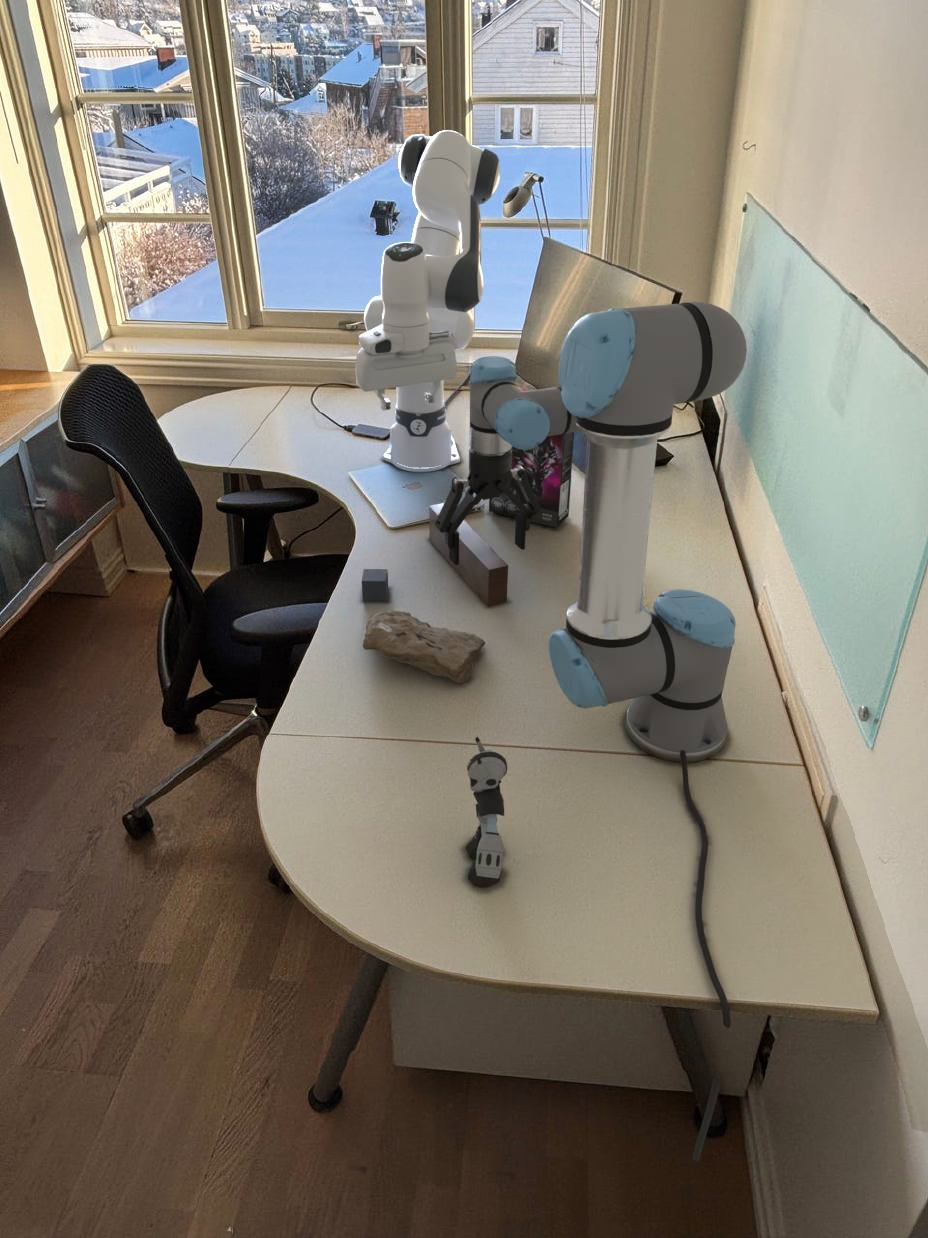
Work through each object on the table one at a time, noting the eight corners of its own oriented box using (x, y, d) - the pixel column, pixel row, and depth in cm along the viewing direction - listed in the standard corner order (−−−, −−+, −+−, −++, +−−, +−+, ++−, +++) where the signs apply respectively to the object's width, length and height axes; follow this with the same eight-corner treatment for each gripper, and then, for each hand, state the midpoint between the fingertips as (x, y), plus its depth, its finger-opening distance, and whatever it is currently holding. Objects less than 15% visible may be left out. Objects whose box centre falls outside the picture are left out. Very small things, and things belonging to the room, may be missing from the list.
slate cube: (386, 601, 173) (385, 581, 171) (362, 601, 173) (361, 581, 171) (388, 589, 177) (387, 568, 174) (365, 588, 177) (363, 568, 174)
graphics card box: (486, 512, 203) (488, 393, 188) (499, 500, 208) (503, 382, 193) (557, 530, 197) (566, 407, 181) (570, 517, 202) (579, 396, 187)
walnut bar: (507, 601, 173) (508, 565, 169) (487, 606, 172) (488, 569, 168) (447, 536, 194) (446, 502, 190) (429, 540, 193) (429, 505, 189)
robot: (509, 924, 113) (515, 806, 101) (469, 925, 112) (471, 808, 101) (496, 807, 129) (501, 695, 118) (462, 808, 129) (463, 696, 118)
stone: (339, 657, 153) (345, 625, 150) (371, 626, 166) (378, 596, 164) (457, 699, 149) (466, 667, 147) (481, 664, 163) (489, 634, 160)
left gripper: (449, 325, 181) (449, 393, 189) (350, 337, 174) (354, 407, 182) (462, 333, 176) (462, 403, 184) (361, 347, 169) (365, 418, 177)
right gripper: (543, 428, 167) (536, 531, 179) (415, 451, 158) (417, 557, 170) (564, 444, 161) (555, 549, 173) (432, 469, 152) (433, 577, 165)
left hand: (408, 405), depth 183 cm, fingers open, 8 cm apart
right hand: (487, 553), depth 172 cm, fingers open, 13 cm apart
